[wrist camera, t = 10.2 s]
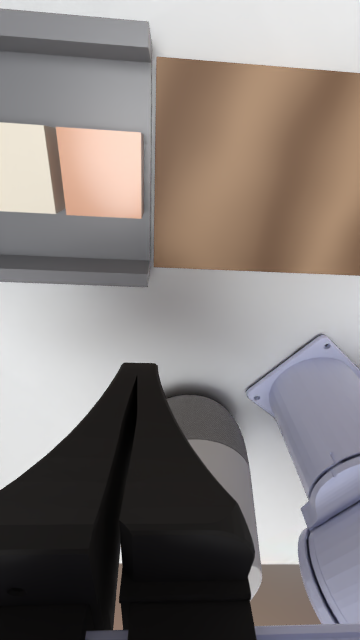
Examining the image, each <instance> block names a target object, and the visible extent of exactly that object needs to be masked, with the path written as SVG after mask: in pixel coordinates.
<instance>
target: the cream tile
mask: <svg viewBox="0 0 360 640" xmlns="http://www.w3.org/2000/svg"><path fill="white" fill-rule="evenodd" d="M64 209H66V207H65V199H64V191H63V183H62V174H61V166H60V158H59V150H58V142H57V134H56V128H54V127H49V126H45V125H32V124H17V123H2V122H0V211H6V212H26V213H46V214H57V213H58V212H60V211H62V210H64Z"/></svg>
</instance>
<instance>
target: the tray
mask: <svg viewBox="0 0 360 640" xmlns="http://www.w3.org/2000/svg"><path fill="white" fill-rule="evenodd" d="M151 72H152V42H151V35H150V28H149V22H147V21H135V20H124V19H113V18H101V17H90V16H79V15H67V14H56V13H45V12H33V11H22V10H10V9H0V122H2V123H17V124H32V125H45V126H49V127H54V128H56V127H67V128H82V129H97V130H112V131H127V132H141V133H142V134H144V214H143V216H142V219H135V218H115V217H96V216H76V215H66V209H64V210H62V211H60V212H58V213H57V214H46V213H26V212H6V211H0V282H22V283H49V284H76V285H103V286H129V287H148V281H149V274H150V206H151Z"/></svg>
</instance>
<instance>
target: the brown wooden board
mask: <svg viewBox="0 0 360 640" xmlns="http://www.w3.org/2000/svg"><path fill="white" fill-rule="evenodd" d="M154 267H165V268H189V269H213V270H237V271H262V272H286V273H310V274H334V275H359V276H360V73H350V72H338V71H326V70H314V69H301V68H289V67H277V66H265V65H252V64H240V63H228V62H215V61H203V60H191V59H179V58H166V57H157V63H156V137H155V210H154Z"/></svg>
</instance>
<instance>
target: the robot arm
mask: <svg viewBox="0 0 360 640" xmlns="http://www.w3.org/2000/svg"><path fill="white" fill-rule="evenodd" d="M326 344H328V345H327V346H325V345H326ZM246 394H247V397H248V398H249V399H251V400H252V401H253V402H255V403H256V404H257V405H258V406H260V407H261V408H262V409H264V410H265V411H266V412H268V413H269V414H270V415H272V416H273V417H274V418H276V421H277V423H278V426H279V428H280V431H281V433H282V436H283V438H284V441H285V443H286V446H287V448H288V451H289V453H290V456H291V458H292V460H293V463H294V465H295V468H296V470H297V473H298V475H299V478H300V480H301V483H302V485H303V488H304V490H305V493H306V495H307V498H308V500H309V501H308V502H307V503H306V504H305V505H304V506H303V507H302V508H301V511H302V514H303V516H304V519H305V522H306V524H307V528H305V529H304V530H303V531H302V533H301V535H300V537H299V541H298V557H299V564H300V571H301V576H302V580H303V583H304V586H305V589H306V592H307V594H308V597H309V600H310V602H311V604H312V606H313V608H314V611H315V612H316V614H317V616H318V618H319V620H320V621H321V623H322V624H319V625H318V624H317V625H285V626H284V625H283V626H282V625H281V626H254V622H253V616H252V611H251V605H250V600H251V590H250V585H249V580H248V576H249V573H250V570H251V567H252V564H253V562H254V559H255V548H254V543H253V540H252V537H251V534H250V531H249V528H248V525H247V523H246V520H245V518H244V515H243V513H242V511H241V509H240V507H239V504H238V503H237V502H236V500H235V499H234V498H233V497H232V496H231V495H230V494H229V493H228V492H227V491H226V490H225V489H224V487H223V486H222V485H221V484H220V483H219V482H218V481H217V479H216V478H215V477H214V476H213V475H212V473H211V472H210V471H209V470H208V469H207V467H206V466H205V464H204V463H203V462H202V460H201V459H200V458H199V456H198V455H197V453H196V452H195V451H194V449H193V448H192V446H191V445H190V443H189V442H188V440H187V439H186V437H185V435H184V434H183V432H182V430H181V428H180V427H179V425H178V423H177V421H176V419H175V417H174V415H173V413H172V411H171V409H170V406H169V404H168V402H167V399H166V397H165V394H164V392H163V389H162V386H161V382H160V378H159V374H158V366H157V365H156V364H155V363H123V364H122V365H121V367H120V369H119V371H118V373H117V374H116V376H115V378H114V379H113V381H112V382H111V384H110V385H109V387H108V388H107V390H106V391H105V392H104V394H103V395H102V397H101V398H100V399H99V401H98V402H97V403H96V404H95V405H94V407H93V408H92V409H91V410H90V412H89V413H88V414H87V415H86V416H85V418H84V419H83V420H82V421H81V422H80V423H79V424H78V425H77V426H76V427H75V428H74V429H73V431H72V432H71V433H70V434H69V435H68V436H67V437H65V438H64V439H63V440H62V441H61V442H60V443H59V444H58V445H57V446H56V447H55V448H54V449H53V450H52V451H50V452H49V453H48V454H47V455H46V456H45V457H43V458H42V459H41V460H40V461H38V462H37V463H36V464H35V465H33V466H32V467H31V468H30V469H29V470H27V471H26V472H25V473H24V474H22V475H21V476H20V477H18V478H17V479H16V480H14V481H13V482H11V483H10V484H9V485H7V486H6V487H4V488H3V489H1V490H0V640H360V369H359V368H358V367H357V366H356V365H355V364H354V363H353V362H352V361H351V360H350V359H349V358H348V357H347V356H346V355H345V354H344V353H343V352H342V351H341V350H340V349H339V348H338V347H337V346H336V345H335V344H334V343H333V342H332V341H331V340H330V339H329V338H328V337H327V336H326V335H320V336H318V337H317V338H316V339H314V340H313V341H312V342H310V343H309V344H308V345H306V346H305V347H304V348H302V349H301V350H300V351H298V352H297V353H296V354H294V355H293V356H292V357H290V358H289V359H288V360H286V361H285V362H284V363H282V364H281V365H280V366H278V367H277V368H276V369H274V370H273V371H272V372H270V373H269V374H268V375H266V376H265V377H264V378H262V379H261V380H260V381H258V382H257V383H256V384H254V385H253V386H252V387H251V388H249V389H248V390H247V392H246ZM255 396H257V397H255ZM120 545H121V552H122V565H123V568H122V578H121V586H120V596H119V603H121V610H122V621H123V630H113V624H114V612H115V601H116V589H117V578H118V567H119V556H120Z"/></svg>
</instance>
